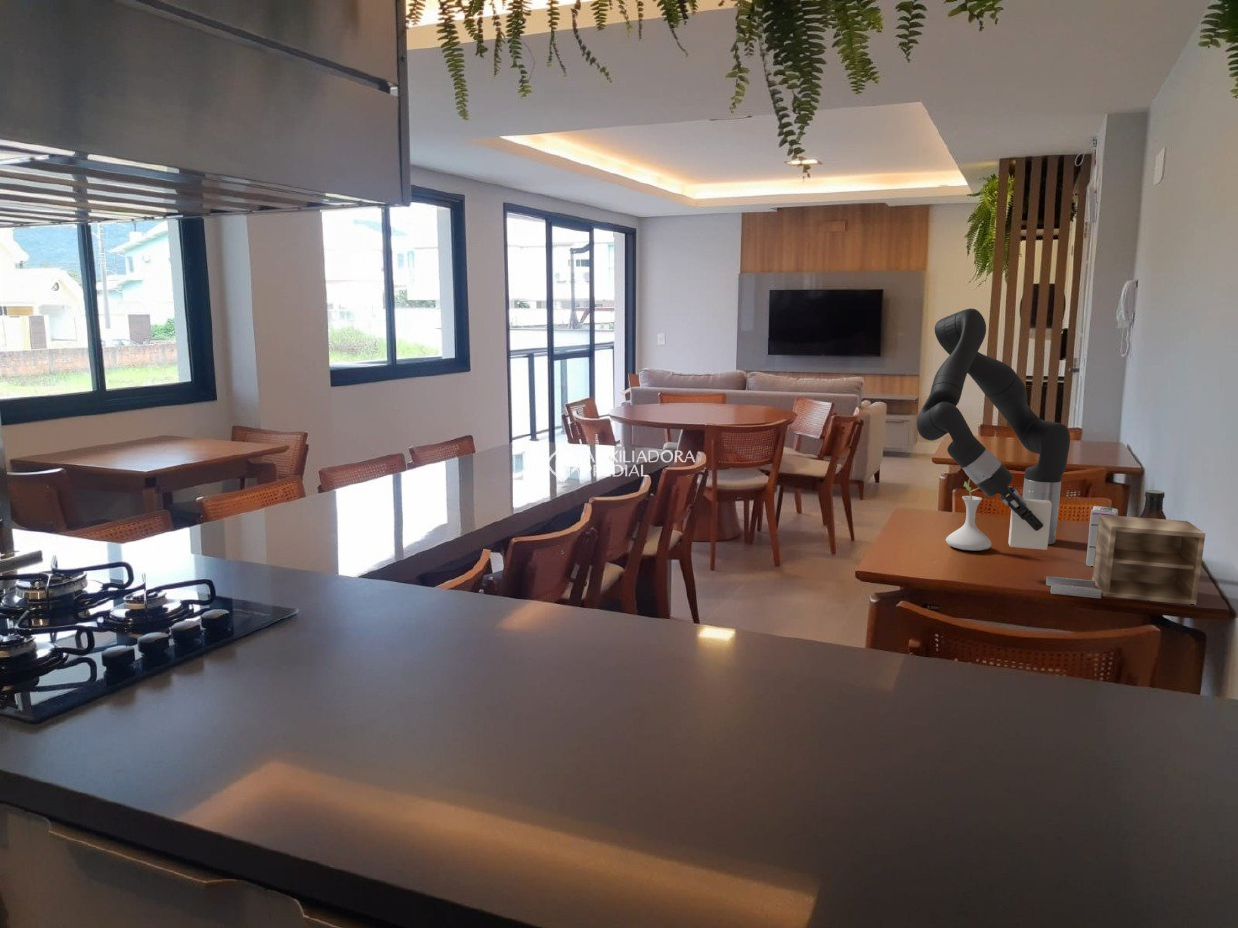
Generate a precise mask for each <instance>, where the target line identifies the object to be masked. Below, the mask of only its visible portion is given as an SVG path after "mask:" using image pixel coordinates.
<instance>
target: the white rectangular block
mask: <svg viewBox="0 0 1238 928" xmlns="http://www.w3.org/2000/svg"><path fill="white" fill-rule="evenodd" d="M1023 500H1024V501H1025V502H1026V503H1027V505H1026V506H1027V507H1028V508H1029V509H1030V510H1031V511H1032V513H1033V514H1034V515H1035V516H1036V517H1037V518H1038V519H1039V520H1040V522H1041V523H1042V524H1043V527H1042V528H1041V529H1039V530H1038V531H1035V530H1034V529H1033V528H1032V527H1031V526H1030V525H1029V524H1028V522H1027V521H1026V520H1023V519H1021V517H1020V516H1019V515H1018V514H1017V513H1014V512H1013V511H1012V510H1011V509H1010V518H1009V519H1010V523H1009V530H1008V531H1009V532H1008V545H1009V547H1010V548H1021V549H1031V550H1033V549H1034V550H1044V551H1045V550H1048V545H1049V544H1048V537H1049V527H1050V517H1051V507H1052V504H1051V502H1050V501H1049V500H1034V499H1023ZM1020 501H1021V500H1020ZM1021 502H1022V501H1021ZM1025 512H1026V510H1023V511H1022V512H1020V513H1021V514H1023V513H1025Z"/></svg>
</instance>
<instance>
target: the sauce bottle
mask: <svg viewBox="0 0 1238 928" xmlns="http://www.w3.org/2000/svg"><path fill="white" fill-rule="evenodd" d="M1144 497H1145V500H1144V506H1143V507H1144V509H1143V510H1142V512H1141V514H1140V516H1139V518H1152V519H1165V520H1167V516H1166V515H1165V513H1164V509H1163V508H1164V507H1163V505H1164V499H1165V492H1164V491H1162V490H1157V489H1156V490H1155V489H1147V490H1145V493H1144Z"/></svg>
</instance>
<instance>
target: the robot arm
mask: <svg viewBox="0 0 1238 928" xmlns="http://www.w3.org/2000/svg"><path fill="white" fill-rule="evenodd" d="M934 335H935V337H936V340H937V341H938V343H939V345H940V346H941V347H942V349H944V351H945V352H946V353H947V354H948V355H949V356H948V357H947V358H945V360H944V362H942V364H941V365H940V367H939V368H938V370H937V371H936V373H935V375H934V378H933V381H932V385H931V388H930V392H929V393H930V394H929V396H928V398H927V399H926V400H925V402H924V404H923V405H922V408H921V410H920V411H919V414H918V416H917V419H916V429H917V432H918V433H919V436H920V437H922V438H923V439H924V440H927V441H930V442H931V441H936V440H939V439H941V438H942V437H944V436H945V435H946V434H948V435H949V436H950V437H951V441H950V443H949V445H948V446H947V450H946V451H947V454H948V455H949V456H950V457H951V459H953V461H954V462H956V464H957V465H959V467H961V469H962V470H963V471H964V473H965V474H966V475H967V477H969V478H970V481H972V482H973V483H974V484H975V485H976V486H977V488H978V487H979V488H980V489H979V490H980V491H982V493H984V495H986V497H989V498H991V497H994V496H995V495H997V494H999V495H1000V496H999V498H1000V501H1001V502H1002V503H1003V504H1004V505H1005V506H1007V507H1008V508H1009V509H1010V511H1011V510H1012V511H1013V512H1014V513H1017V514H1018V515H1019V516H1020V517H1021V519H1023V520H1026V521H1027V522H1028V524H1029V525H1030V526H1031V527H1032V528H1033V529H1034V530H1035V531H1038V530H1039V529H1041V528H1042V527H1043V524H1042V523H1041V522H1040V520H1039V519H1038V518H1037V517H1036V516H1035V515H1034V514H1033V513H1032V511H1031V510H1030V509H1029V508H1028V507H1027V506H1026V505H1027V503H1026V502H1025V501H1024V500H1023V499H1034V500H1049V501H1050V502H1051V504H1052V507H1051V517H1050V527H1049V537H1048V545H1051V544H1055V543H1056V537H1057V527H1058V518H1059V509H1060V508H1059V507H1060V498H1061V489H1062V481H1063V480H1062V478H1063V476H1064V473H1065V471H1066V469H1067V463H1068V457H1069V451H1070V445H1071V434H1070V431H1069V429H1068V427H1067V426H1066V425H1065V424H1063V423H1060V422H1054V421H1050V420H1045V419H1044V420H1043V419H1042V418H1040V417H1039V416H1038V415H1036V413H1035V412H1034V411H1033V410H1032V409H1031V408H1030V406H1029V404H1028V393H1027V388H1026V385H1025V383H1024V381H1023V380H1022V379H1021V378H1020V376H1019V375H1018V374H1017V373H1016V371H1015V369H1013V368H1012V367H1011V366H1010V365H1008V364H1006V363H1005V362H1003V361H1001V360H998V359H996V358H993V357H991V356H988V355H986V354H984V353H981V352H979V350H980V348H981V346H982V344H983V342H984V340H985V337H986V335H987V324H986V320H985V317H984V315H982V313H981V312H980V311H979V310H978V309H975V308H966V309H963V310H960V311H957V312H955V313H953V314H950V315H947V316H945V317H943V318H941V319H939V320H938V321H937V322H936V323H935V325H934ZM967 375H969V376H970V377H971V378H972V380H973V381H974V382H975V384H976V385H978V388H979V389H980V390H981V391H982V393H983V394H984V395H985V396H986V397H987V399H988V400H989V401H990V402H991V404H993V406H994V407H995V408H996V409H997V410H998V412H999V413H1000V415H1001V416H1002V417H1003V418H1004V419H1005V421H1007V423H1008V424H1009V425H1010V427H1011V429H1012V430H1013V432H1014V434H1015V435H1016V437H1017V438H1018V440H1019V442H1020V443H1021V444H1022V446H1023V447H1024V448H1025V449H1026V450H1027V451H1029V452H1031V453H1034V454H1038V455H1039V457H1038V461H1037V463H1036V464H1035V465H1032V466H1027V467H1026V468H1025V470H1024V475H1023V476H1024V477H1023V479H1024V480H1023V489H1022V495H1021V494H1020V493H1019V491H1018V489H1017V488H1016V487H1014V486H1011V485H1010V484H1011V483H1012V481H1014V480H1013V479H1014V475H1013V473H1011V472H1010V470H1009V469H1008V468H1007V467H1006V466H1005V465H1004V464H1003V463H1002V462H1001V461H1000V460H999V459H998V457H997V456H995V455H994V454H993V453H992V452H990V451H989V449H987V448H986V447H985V446H984V445H983V444H982V443H981V441H979V439H977V437H975V435H974V434H973V431H972V430H971V428H970V426H969V424H968V423H967V421H966V418H965V417H964V415H963V414H962V412H961V411H960V409H959V408H958V407H957V406H958V404H959V403H960V400H961V396H962V393H963V388H964V384H965V382H966V378H967ZM1020 500H1021V501H1022V502H1021V501H1020ZM1023 510H1026V512H1025V513H1023V514H1021V513H1020V512H1022V511H1023Z"/></svg>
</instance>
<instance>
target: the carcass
mask: <svg viewBox="0 0 1238 928" xmlns="http://www.w3.org/2000/svg"><path fill="white" fill-rule="evenodd" d="M1205 539H1206V533H1205V532H1204V531H1202V530H1201V529H1200V528H1199V527H1197V526H1195V524H1193V523H1191V522H1190V521H1188V520H1177V519H1166V520H1165V519H1152V518H1140V517H1136V516H1125V515H1124V516H1123V515H1122V516H1121V515H1118V516H1111V515H1099V523H1098V532H1097V540H1096V549H1095V558H1094V567H1092V568H1093V569H1092V577H1091V580H1093V581H1095V588H1099V589H1101V590H1102V591H1101V596H1103V597H1107V598H1108V597H1110V598H1118V599H1130V600H1139V601H1148V600H1149V601H1150V602H1160V603H1172V604H1179V605H1190V604H1194V605H1193V606H1196V605H1197V598H1198V592H1199V585H1200V577H1201V570H1202V564H1203V563H1202V562H1203V561H1202V560H1203V555H1204V547H1205Z"/></svg>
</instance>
